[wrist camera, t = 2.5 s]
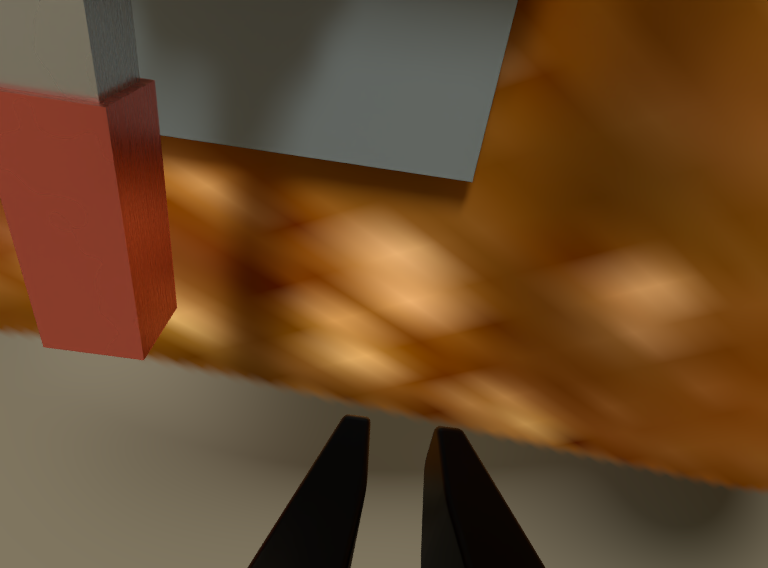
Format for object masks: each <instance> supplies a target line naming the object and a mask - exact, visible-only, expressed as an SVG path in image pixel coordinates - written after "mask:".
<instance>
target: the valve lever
mask: <svg viewBox="0 0 768 568" xmlns="http://www.w3.org/2000/svg"><path fill="white" fill-rule="evenodd" d="M0 198H1V201H2V205H3V208H4V212H5V215H6V219H7V222H8V226H9V229H10V232H11V236H12V239H13V243H14V246H15V250H16V253H17V257H18V260H19V264H20V267H21V271H22V274H23V277H24V281H25V284H26V288H27V291H28V295H29V298H30V302H31V305H32V309H33V312H34V316H35V319H36V323H37V326H38V329H39V333H40V336H41V340H42V343H43V347H47V348H54V349H63V350H71V351H77V352H85V353H93V354H101V355H108V356H116V357H124V358H131V359H139V360H144V359H145V358H146V356H147V354H148V353H149V351H150V350H151V348H152V346H153V345H154V343H155V342H156V340H157V338H158V337H159V335H160V334H161V332H162V331H163V329H164V327H165V326H166V324H167V323H168V321H169V319H170V318H171V316H172V315H173V313H174V311H175V310H176V308H177V303H176V293H175V283H174V272H173V262H172V252H171V241H170V231H169V221H168V211H167V200H166V190H165V180H164V169H163V159H162V149H161V139H160V128H159V118H158V108H157V97H156V87H155V80H151V79H144V78H140V75H139V66H138V57H137V48H136V39H135V30H134V21H133V12H132V3H131V0H0Z"/></svg>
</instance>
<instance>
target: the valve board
mask: <svg viewBox="0 0 768 568" xmlns="http://www.w3.org/2000/svg"><path fill="white" fill-rule="evenodd" d="M517 2H518V0H131V3H132V12H133V21H134V30H135V39H136V48H137V57H138V66H139V75H140V78H144V79H151V80H155V87H156V97H157V108H158V118H159V128H160V135H163V136H169V137H176V138H183V139H189V140H196V141H203V142H209V143H216V144H223V145H229V146H236V147H243V148H249V149H256V150H263V151H269V152H276V153H283V154H289V155H296V156H302V157H309V158H316V159H322V160H329V161H336V162H342V163H349V164H356V165H362V166H369V167H376V168H382V169H389V170H396V171H402V172H409V173H416V174H422V175H429V176H436V177H442V178H449V179H455V180H462V181H469V182H472V181H473V177H474V173H475V169H476V165H477V161H478V157H479V153H480V149H481V145H482V141H483V137H484V133H485V129H486V125H487V121H488V117H489V113H490V109H491V105H492V101H493V97H494V93H495V89H496V85H497V81H498V77H499V73H500V69H501V65H502V61H503V57H504V53H505V49H506V45H507V41H508V37H509V33H510V29H511V25H512V21H513V17H514V13H515V9H516V5H517Z"/></svg>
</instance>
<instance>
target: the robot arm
mask: <svg viewBox="0 0 768 568" xmlns="http://www.w3.org/2000/svg"><path fill="white" fill-rule="evenodd" d="M369 439H370V419H369V418H368V417H364V416H357V415H345V416H344V417H343V418H342V419H341V421H340V423H339V424H338V426H337V427H336V429H335V430H334V432H333V434H332V435H331V437H330V438H329V440H328V442H327V443H326V445H325V446H324V448H323V450H322V451H321V453H320V454H319V456H318V457H317V459H316V460H315V462H314V464H313V465H312V467H311V468H310V470H309V471H308V473H307V475H306V476H305V478H304V479H303V481H302V483H301V484H300V486H299V487H298V489H297V490H296V492H295V494H294V495H293V497H292V498H291V500H290V502H289V503H288V505H287V506H286V508H285V509H284V511H283V513H282V514H281V516H280V517H279V519H278V521H277V522H276V524H275V525H274V527H273V528H272V530H271V532H270V533H269V535H268V536H267V538H266V539H265V541H264V543H263V544H262V546H261V547H260V549H259V550H258V552H257V554H256V555H255V557H254V559H253V560H252V562H251V563H250V565H249V566H248V568H351V563H352V558H353V553H354V548H355V542H356V538H357V533H358V528H359V523H360V518H361V512H362V508H363V503H364V497H365V492H366V486H367V475H368V456H369ZM421 545H422V546H421V568H545V566H544V565H543V563H542V561H541V560H540V558H539V556H538V555H537V553H536V551H535V550H534V548H533V546H532V545H531V543H530V541H529V540H528V538H527V536H526V535H525V533H524V531H523V530H522V528H521V526H520V525H519V523H518V522H517V520H516V518H515V517H514V515H513V514H512V512H511V510H510V508H509V507H508V505H507V503H506V502H505V500H504V498H503V497H502V495H501V493H500V492H499V490H498V488H497V487H496V485H495V483H494V482H493V480H492V478H491V477H490V475H489V473H488V472H487V470H486V469H485V467H484V465H483V463H482V462H481V460H480V458H479V457H478V455H477V454H476V452H475V450H474V449H473V447H472V445H471V444H470V442H469V440H468V439H467V437H466V435H465V434H464V432H463V431H462V430H460V429H458V428H451V427H443V426H438V427H436V429H435V430H434V433H433V436H432V439H431V443H430V447H429V450H428V453H427V457H426V461H425V468H424V488H423V515H422V544H421Z"/></svg>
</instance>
